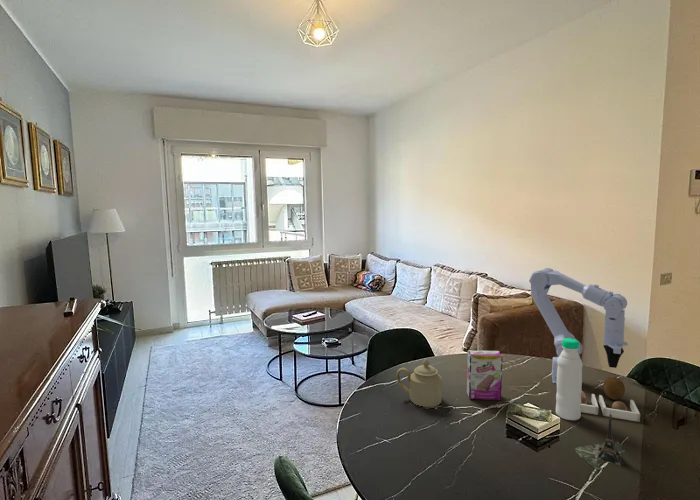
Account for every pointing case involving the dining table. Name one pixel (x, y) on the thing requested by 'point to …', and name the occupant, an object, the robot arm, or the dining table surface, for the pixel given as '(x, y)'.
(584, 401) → the walnut ball
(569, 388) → the water bottle
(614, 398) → the fruit
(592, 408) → the trough left
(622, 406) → the walnut ball
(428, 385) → the sugar bowl
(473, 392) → the candy bar box
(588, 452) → the eiffel tower figurine
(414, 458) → the dining table surface
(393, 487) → the dining table surface
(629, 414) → the trough right
